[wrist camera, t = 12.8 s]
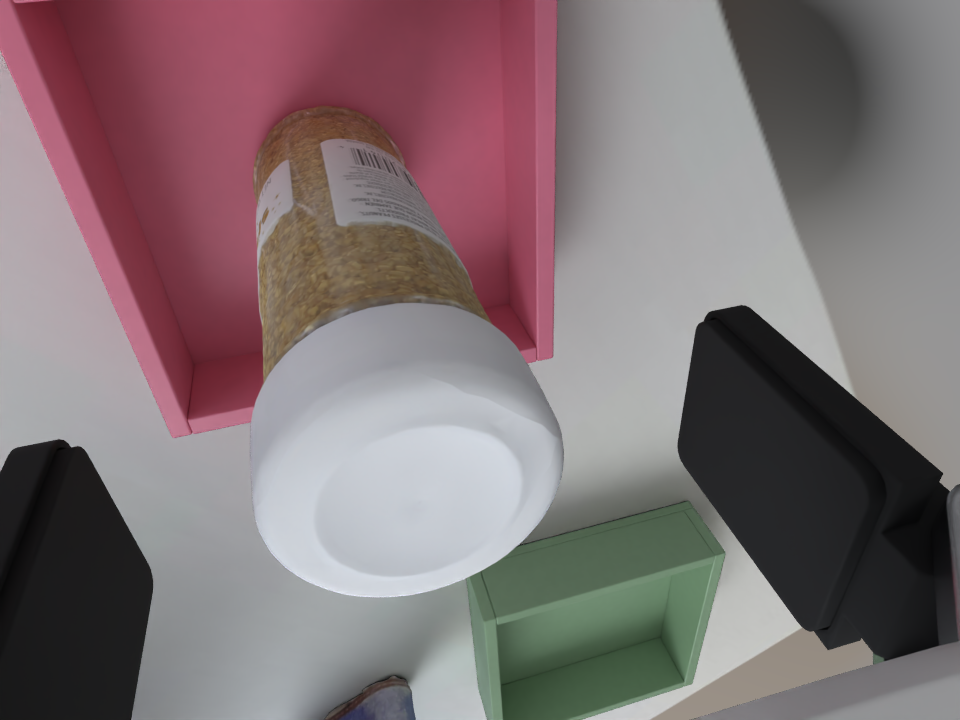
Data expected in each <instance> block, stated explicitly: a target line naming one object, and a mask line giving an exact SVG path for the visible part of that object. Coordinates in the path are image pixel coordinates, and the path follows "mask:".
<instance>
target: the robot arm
mask: <svg viewBox="0 0 960 720" xmlns="http://www.w3.org/2000/svg"><path fill="white" fill-rule="evenodd" d="M678 453H679V457H680V459H681V462H682V463H683V465H684V466H685V468H686V469H687V471H688V472H689V473H690V475H691V476H692V477H693V479H694V480H695V482H696V483H697V484H698V486H699V487H700V488H701V490H702V491H703V493H704V494H705V495H706V497H707V498H708V499H709V501H710V502H711V504H712V505H713V506H714V508H715V509H716V510H717V512H718V513H719V515H720V516H721V517H722V519H723V520H724V522H725V523H726V524H727V526H728V527H729V528H730V530H731V531H732V533H733V534H734V535H735V537H736V538H737V539H738V541H739V542H740V544H741V545H742V546H743V548H744V549H745V550H746V552H747V553H748V555H749V556H750V557H751V559H752V560H753V561H754V563H755V564H756V566H757V567H758V568H759V570H760V571H761V572H762V574H763V575H764V577H765V578H766V579H767V581H768V582H769V583H770V585H771V586H772V588H773V589H774V590H775V592H776V593H777V594H778V596H779V597H780V599H781V600H782V601H783V603H784V604H785V605H786V607H787V608H788V610H789V611H790V612H791V614H792V615H793V616H794V618H795V619H796V621H797V622H798V623H799V624H800V625H801V627H803V628H804V629H805V630H807V631H814V632H815V633H816V635H817V636H818V637H819V638H820V640H821V641H822V643H823V644H824V646H825V647H826V648H827V649H828V650H830V649H834V648H837V647H840V646H843V645H847V644H850V643H853V642H856V641H860V640H861V638H862V639H863V640H864V642H865V643H866V644H867V645H868V647H869V648H870V649H871V650H872V651H873V665H870V666H866V667H863V668H860V669H856V670H852V671H849V672H845V673H842V674H838V675H835V676H832V677H829V678H826V679H822V680H819V681H815V682H812V683H809V684H806V685H802V686H799V687H796V688H793V689H789V690H786V691H783V692H779V693H776V694H773V695H770V696H767V697H763V698H760V699H757V700H753V701H750V702H747V703H744V704H741V705H737V706H734V707H730V708H727V709H724V710H721V711H717V712H715V713H711V714H708V715H704V716H701V717H698V718H694V719H691V720H960V484H959V485H956V486H955V487H954V488H953V489H952V490H951V491H949V490H948V489H946V488H945V487H944V486H943V485H942V484H941V483H940V482H939V481H940V479H941V477H942V475H943V473H942V472H941V471H940V470H939V469H937V468H936V467H935V466H934V465H933V464H932V463H930V462H929V461H928V460H927V459H926V458H924V456H922V455H921V454H920V453H919V452H918V451H916V450H915V449H914V448H913V447H912V446H911V445H909V444H908V443H907V442H906V441H905V440H904V439H902V438H901V437H900V436H899V435H898V434H897V433H895V432H894V431H893V430H892V429H891V428H890V427H888V426H887V425H886V424H885V423H884V422H883V421H881V420H880V419H879V418H878V417H877V416H875V415H874V414H873V413H872V412H871V411H870V410H869V409H867V408H866V407H865V406H864V405H863V404H861V403H860V402H859V401H858V400H857V399H856V398H855V397H853V396H852V395H851V394H850V393H849V392H848V391H846V390H845V389H844V388H843V387H842V386H841V385H839V384H838V383H837V382H836V381H835V380H834V379H832V378H831V377H830V376H829V375H828V374H827V373H825V372H824V371H823V370H822V369H821V368H820V367H818V366H817V365H816V364H815V363H814V362H813V361H811V360H810V359H809V358H808V357H807V356H806V355H804V354H803V353H802V352H801V351H800V350H799V349H797V348H796V347H795V346H794V345H793V344H792V343H790V342H789V341H788V340H787V339H786V338H785V337H783V336H782V335H781V334H780V333H779V332H778V331H776V330H775V329H774V328H773V327H772V326H771V325H769V324H768V323H767V322H766V321H765V320H764V319H762V318H761V317H760V316H759V315H758V314H757V313H755V312H754V311H753V310H752V309H751V308H749V307H747V306H743V305H740V306H735V307H730V308H725V309H720V310H715V311H711V312H709V313H708V314H707V315H706V317H705V319H704V322H701V323H699V324H698V326H697V328H696V332H695V338H694V344H693V351H692V357H691V363H690V369H689V375H688V382H687V388H686V394H685V400H684V406H683V413H682V419H681V425H680V431H679V438H678ZM152 594H153V578H152V573H151V569H150V567H149V564H148V563H147V561H146V559H145V557H144V555H143V554H142V552H141V550H140V548H139V546H138V545H137V543H136V541H135V539H134V537H133V536H132V534H131V532H130V530H129V528H128V527H127V525H126V523H125V521H124V519H123V517H122V516H121V514H120V512H119V510H118V508H117V507H116V505H115V503H114V501H113V499H112V498H111V496H110V494H109V492H108V490H107V489H106V487H105V485H104V483H103V481H102V480H101V478H100V476H99V474H98V472H97V471H96V469H95V467H94V465H93V463H92V462H91V460H90V458H89V456H88V454H87V453H86V451H85V450H84V449H83V448H82V447H79V446H77V447H72V448H71V447H70V445H69V444H68V443H67V442H66V441H64V440H60V439H58V440H53V441H48V442H43V443H38V444H33V445H28V446H23V447H18V448H15V449H13V450H12V451H11V452H10V454H9V455H8V457H7V459H6V461H5V464H4V466H3V468H2V470H1V472H0V720H131V717H132V711H133V705H134V699H135V693H136V688H137V682H138V676H139V670H140V664H141V658H142V652H143V646H144V641H145V635H146V629H147V623H148V617H149V611H150V605H151V600H152Z"/></svg>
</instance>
